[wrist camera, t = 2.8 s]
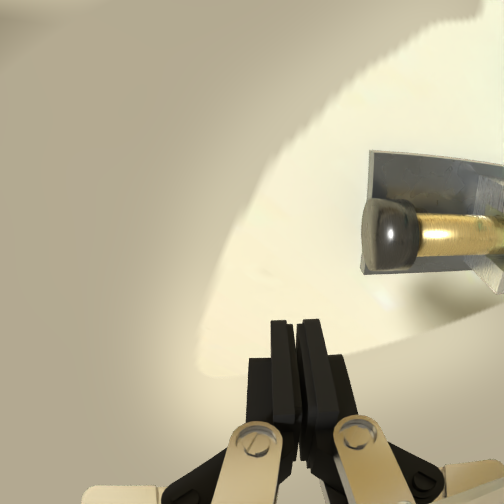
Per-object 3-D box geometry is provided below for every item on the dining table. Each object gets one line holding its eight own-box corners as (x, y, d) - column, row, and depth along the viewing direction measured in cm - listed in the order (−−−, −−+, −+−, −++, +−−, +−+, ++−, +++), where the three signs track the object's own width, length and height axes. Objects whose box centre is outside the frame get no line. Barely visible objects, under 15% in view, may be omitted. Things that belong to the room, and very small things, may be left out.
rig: (558, 176, 21) (601, 197, 15) (540, 260, 25) (575, 290, 19) (369, 150, 22) (405, 167, 16) (360, 268, 27) (384, 316, 20)
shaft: (513, 199, 21) (547, 218, 16) (503, 249, 23) (532, 274, 18) (364, 190, 21) (387, 211, 17) (358, 252, 23) (377, 285, 19)
